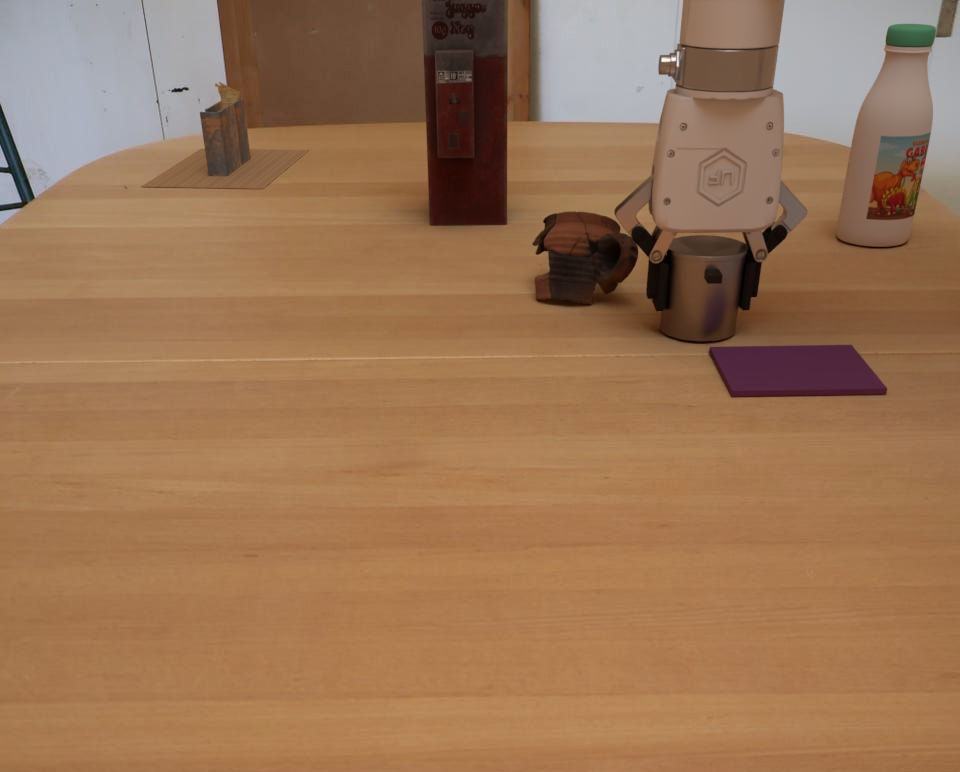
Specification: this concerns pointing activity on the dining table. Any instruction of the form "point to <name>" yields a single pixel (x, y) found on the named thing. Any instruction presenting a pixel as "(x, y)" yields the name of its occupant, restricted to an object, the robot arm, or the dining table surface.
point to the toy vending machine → (466, 110)
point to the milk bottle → (890, 144)
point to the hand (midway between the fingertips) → (700, 304)
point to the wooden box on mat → (227, 152)
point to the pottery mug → (583, 256)
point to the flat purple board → (795, 371)
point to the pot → (703, 287)
